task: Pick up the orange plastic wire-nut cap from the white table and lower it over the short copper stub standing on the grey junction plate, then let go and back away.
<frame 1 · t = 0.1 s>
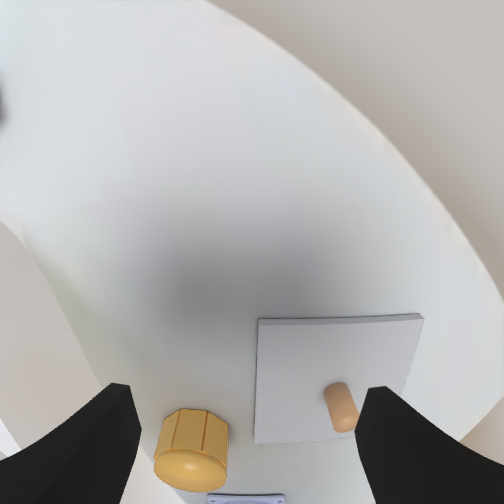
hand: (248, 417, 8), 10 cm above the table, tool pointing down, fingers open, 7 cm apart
wire nut: (196, 430, 21), on the table
junction plate: (333, 384, 20), on the table
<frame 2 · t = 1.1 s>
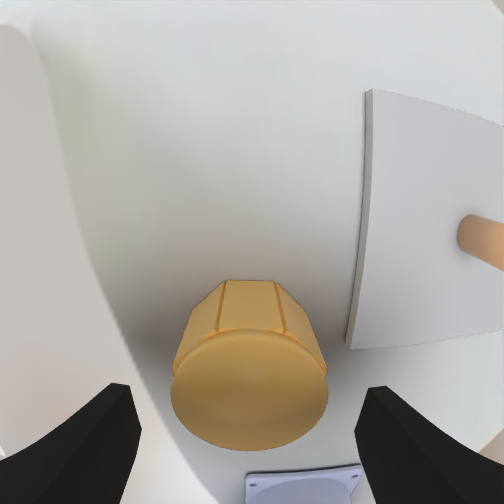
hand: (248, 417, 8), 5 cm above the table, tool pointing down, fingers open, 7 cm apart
wire nut: (248, 333, 13), on the table
junction plate: (460, 230, 12), on the table
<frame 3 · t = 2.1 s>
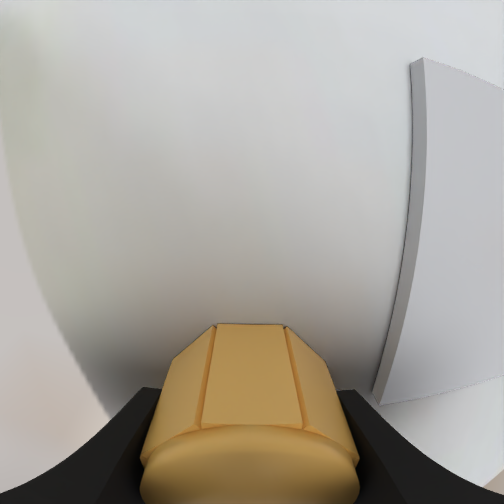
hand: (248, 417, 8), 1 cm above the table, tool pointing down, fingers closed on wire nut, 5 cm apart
wire nut: (248, 388, 10), on the table, touching gripper
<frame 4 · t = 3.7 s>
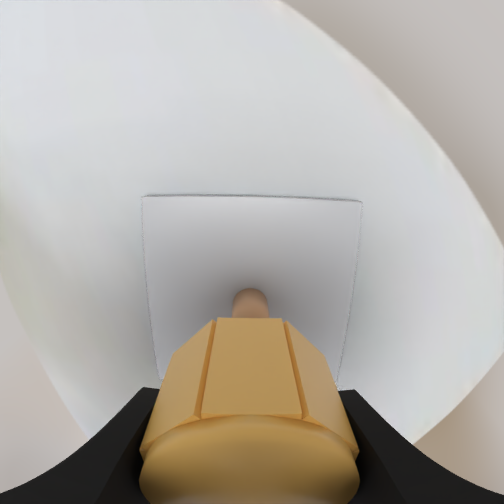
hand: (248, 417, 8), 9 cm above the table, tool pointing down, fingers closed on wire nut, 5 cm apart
wire nut: (248, 382, 10), point 7 cm above the table, touching gripper
junction plate: (249, 297, 17), on the table
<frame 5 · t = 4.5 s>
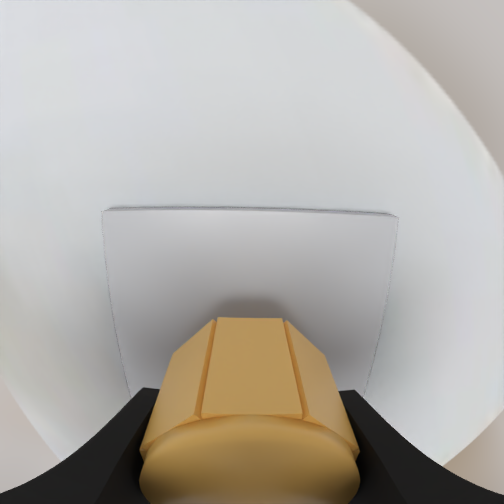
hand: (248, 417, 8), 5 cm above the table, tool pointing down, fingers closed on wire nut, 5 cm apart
wire nut: (248, 382, 10), point 3 cm above the table, touching gripper
junction plate: (247, 340, 13), on the table
when the fingers open (3 cm above the table, at t = 5.3 s): wire nut drops 1 cm, resting on junction plate.
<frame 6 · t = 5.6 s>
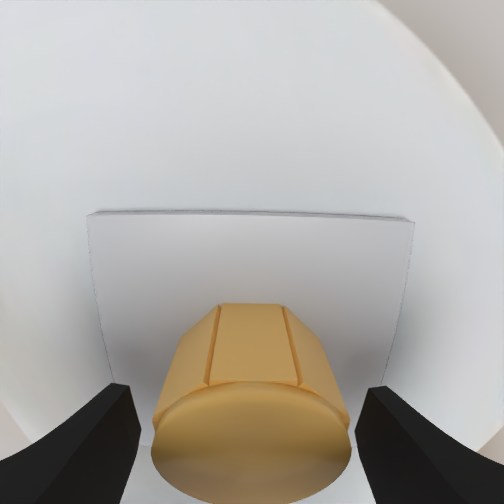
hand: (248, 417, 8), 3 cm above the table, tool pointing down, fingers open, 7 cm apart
wire nut: (249, 364, 11), point 1 cm above the table, touching junction plate
junction plate: (248, 355, 12), on the table
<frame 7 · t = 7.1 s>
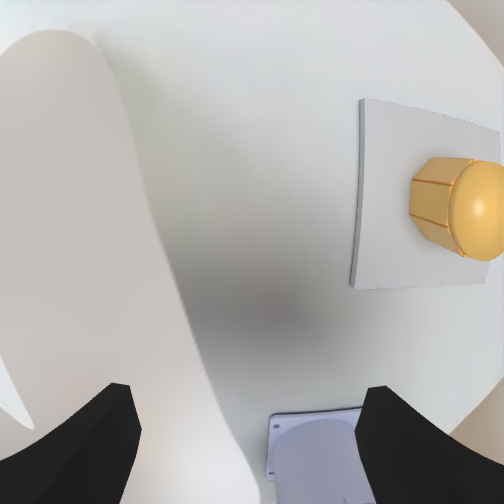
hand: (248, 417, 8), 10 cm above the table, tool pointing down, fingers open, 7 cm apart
wire nut: (442, 199, 16), point 1 cm above the table, touching junction plate
junction plate: (434, 200, 17), on the table
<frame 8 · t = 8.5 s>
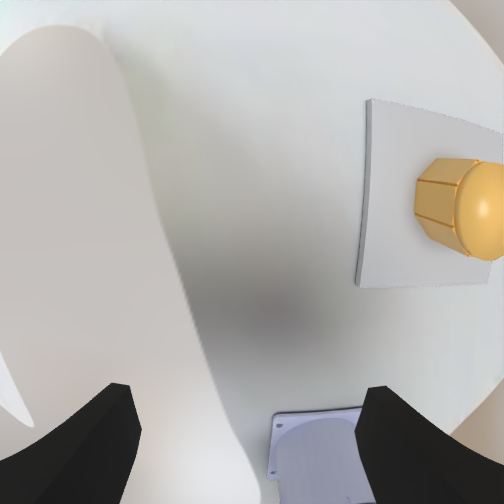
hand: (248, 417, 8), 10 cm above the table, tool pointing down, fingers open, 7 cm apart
wire nut: (446, 200, 16), point 1 cm above the table, touching junction plate
junction plate: (439, 200, 17), on the table
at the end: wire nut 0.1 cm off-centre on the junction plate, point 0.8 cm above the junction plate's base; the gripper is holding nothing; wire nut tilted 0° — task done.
